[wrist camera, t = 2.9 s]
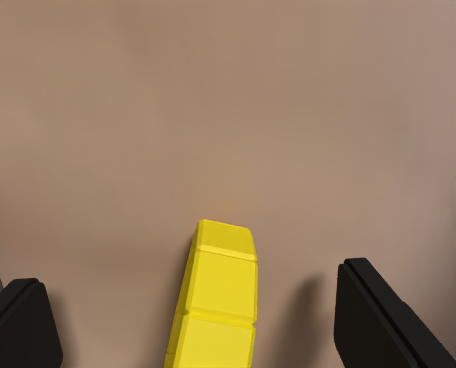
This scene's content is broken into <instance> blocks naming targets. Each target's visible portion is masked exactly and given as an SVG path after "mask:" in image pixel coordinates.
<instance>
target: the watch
mask: <svg viewBox="0 0 456 368" xmlns="http://www.w3.org/2000/svg"><path fill="white" fill-rule="evenodd" d="M256 263H257V255H256V251H255V246H254V241H253V237H252V234H251V232H250V230H249V229H248V228H243V227H238V226H234V225H229V224H224V223H220V222H215V221H210V220H206V219H203V220H201V221H199V222H198V223H197V226H196V229H195V233H194V236H193V239H192V244H191V248H190V252H189V256H188V261H187V265H186V269H185V273H184V278H183V282H182V286H181V290H180V294H179V299H178V303H177V306H176V309H175V310H176V311H175V315H174V320H173V325H172V329H171V334H170V339H169V343H168V348H167V354H166V357H165V362H164V367H163V368H251V361H252V354H253V347H254V340H255V333H256V329H255V328H254V326H253V324H254V323H255V322H256V321H257V281H258V265H257V264H256Z"/></svg>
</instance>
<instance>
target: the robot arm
mask: <svg viewBox="0 0 456 368" xmlns="http://www.w3.org/2000/svg"><path fill="white" fill-rule="evenodd" d="M334 342H335V346H336V349H337V351H338V353H339V355H340V358H341V360H342V362H343V364H344V366H345V368H456V361H455V359H454V358H453V357H452V356H451V355H450V354H449V352H448V351H447V350H446V349H445V348H444V347H443V345H442V344H441V343H440V342H439V341H438V340H437V338H436V337H435V336H434V335H433V334H432V332H431V331H430V330H429V329H428V328H427V327H426V325H425V324H424V323H423V322H422V321H421V320H420V318H419V317H418V316H417V315H416V314H415V312H414V311H413V310H412V309H411V308H410V307H409V306H408V305H407V304H406V303H405V302H403V301H402V300H401V299H400V298H399V297H398V296H397V294H396V293H395V292H394V291H393V290H392V288H391V287H390V286H389V285H388V284H387V282H386V281H385V280H384V279H383V278H382V277H381V275H380V274H379V273H378V272H377V271H376V269H375V268H374V267H373V266H372V265H371V263H370V262H369V261H368V260H367V259H366V258H350V259H345V261H344V264H339V266H338V278H337V292H336V306H335V321H334ZM62 359H63V352H62V348H61V344H60V341H59V337H58V333H57V329H56V326H55V322H54V318H53V314H52V311H51V307H50V303H49V300H48V296H47V292H46V288H45V285H44V284H43V283H40V282H39V281H38V279H36V278H26V279H15V280H13V281H11V282H10V283H9V284H8V285H7V286H6V287H5V288H4V289H3V290H2V291H1V292H0V368H60V366H61V363H62Z"/></svg>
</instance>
